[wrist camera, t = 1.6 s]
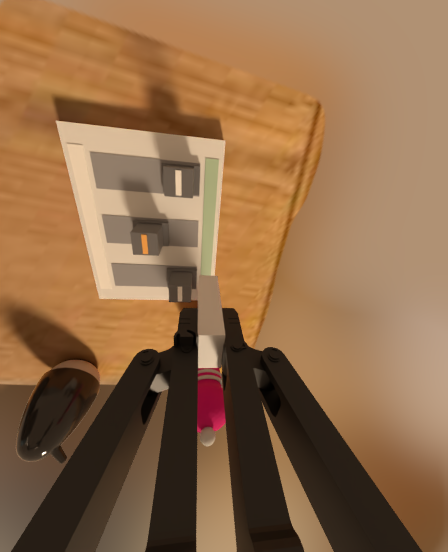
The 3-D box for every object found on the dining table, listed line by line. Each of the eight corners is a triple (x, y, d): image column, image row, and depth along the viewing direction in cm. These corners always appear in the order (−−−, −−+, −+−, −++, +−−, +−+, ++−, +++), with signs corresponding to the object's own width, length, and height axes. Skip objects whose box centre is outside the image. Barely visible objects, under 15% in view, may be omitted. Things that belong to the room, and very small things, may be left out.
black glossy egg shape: (83, 389, 47) (37, 480, 34) (40, 365, 42) (-32, 460, 29) (118, 371, 45) (84, 460, 32) (78, 344, 40) (19, 435, 27)
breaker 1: (164, 191, 26) (157, 197, 22) (162, 162, 25) (155, 163, 21) (199, 194, 27) (199, 201, 23) (200, 166, 25) (200, 168, 21)
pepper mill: (194, 301, 38) (189, 424, 20) (229, 313, 40) (251, 433, 23) (180, 329, 41) (165, 457, 23) (213, 338, 43) (222, 461, 26)
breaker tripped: (136, 242, 29) (126, 256, 25) (134, 219, 27) (123, 230, 24) (169, 244, 30) (164, 257, 26) (168, 221, 28) (163, 232, 24)
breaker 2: (168, 285, 33) (163, 303, 29) (167, 267, 31) (162, 283, 27) (196, 286, 34) (195, 303, 30) (196, 268, 32) (196, 284, 28)
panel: (104, 291, 35) (99, 299, 33) (66, 123, 24) (55, 120, 22) (211, 293, 37) (212, 301, 35) (223, 141, 26) (225, 140, 24)
